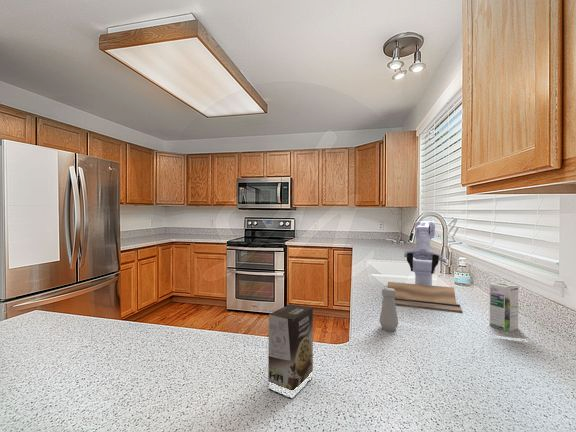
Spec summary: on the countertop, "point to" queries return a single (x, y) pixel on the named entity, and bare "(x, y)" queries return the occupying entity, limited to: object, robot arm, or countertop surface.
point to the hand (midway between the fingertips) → (421, 271)
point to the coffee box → (290, 345)
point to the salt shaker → (388, 310)
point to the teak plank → (423, 292)
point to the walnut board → (428, 305)
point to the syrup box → (503, 306)
